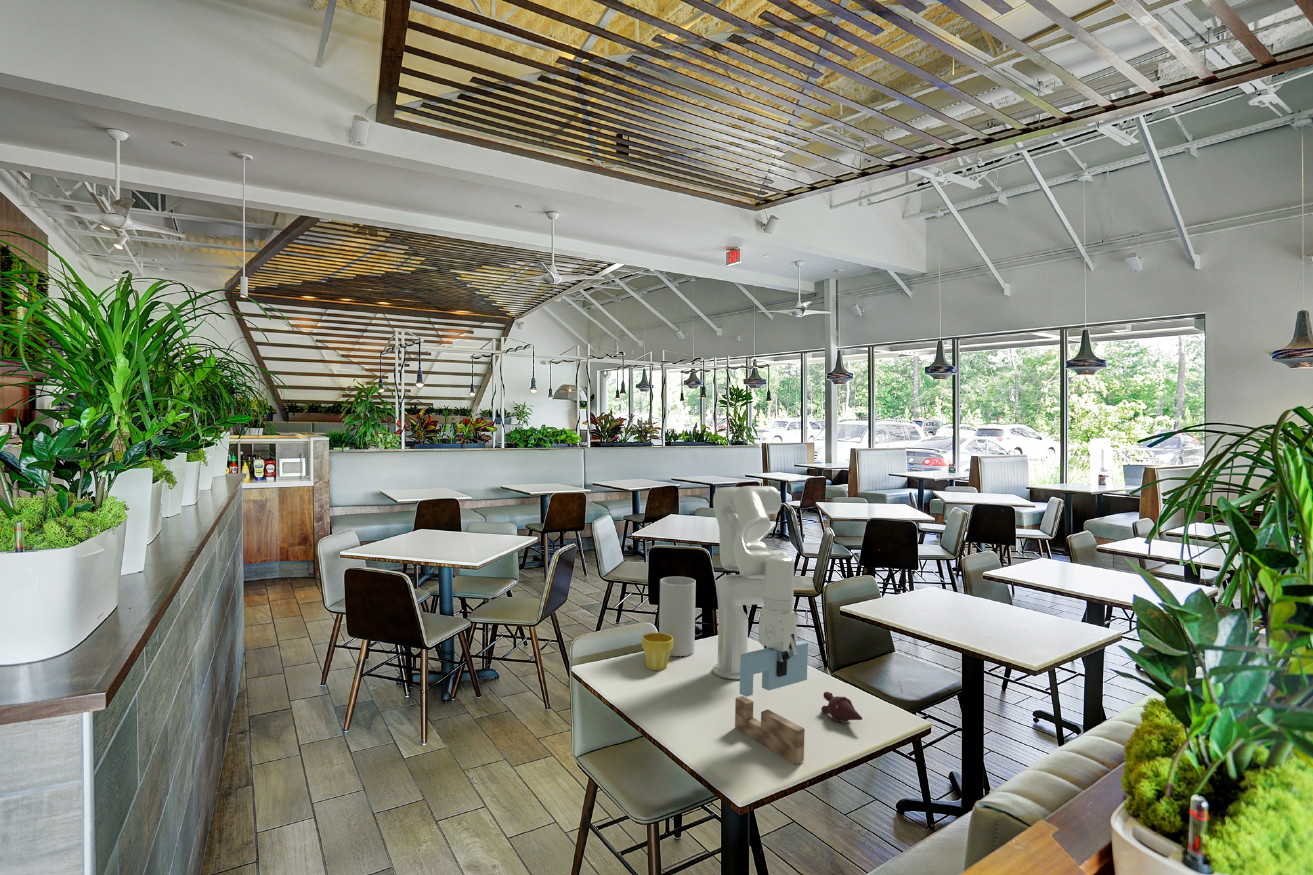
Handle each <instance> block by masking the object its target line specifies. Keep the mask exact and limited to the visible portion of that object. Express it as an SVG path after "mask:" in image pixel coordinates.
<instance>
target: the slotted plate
mask: <svg viewBox="0 0 1313 875" xmlns="http://www.w3.org/2000/svg"><path fill="white" fill-rule="evenodd" d="M796 651H797V656H793V657H791V658H789V660H788V661H787V675H785V676H781V677H777V661H779V659H778V651H777V650H775V649H772V648H766V649H764V648H762V649H758V650H754V651H747V653H744V654H741V659H740V679H739V695H741V696H744V697H746V698H747V697H750V696H753V695H754V675H756V674H760V673H761V688H762V689H764V690H766V691H772V690H775V689H780V688H783V687H787V686H790V685H793V684H798V683H801V682H804V681H807V680H808V659H809V658H808V653H809V642H807V641H804V640H797V644H796ZM784 654H785V653H784V652H783V655H784Z"/></svg>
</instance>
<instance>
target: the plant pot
mask: <svg viewBox="0 0 1313 875" xmlns="http://www.w3.org/2000/svg"><path fill="white" fill-rule="evenodd" d="M641 648H642V649H643V653H644V657H645V658H644V659H645V665H646V667H647V669H649V670H652V671H662V669H663V670H665V669H667V667H668V662H669V658H670V656H669V655H670V651H671V650H672V648H673V637H672V636H671V635H669V634H665V633H659V632H648V633H645V634H643V635H642V637H641Z"/></svg>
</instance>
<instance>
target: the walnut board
mask: <svg viewBox="0 0 1313 875" xmlns="http://www.w3.org/2000/svg"><path fill="white" fill-rule="evenodd" d="M734 707H735V708H734V728H735V729H736V730H737V731H739V732H741V733H743V734H744V735H747V737H750V738H751V739H753V740H755V741H756V742H758V743H760V744H761V745H763V746H764V747H766V748H768V749H770V750H772V751H773V752H775V753H776V754H778V755H780V756H781V755H782V756H781V757H783V758H784V759H786V760H788V759H789V760H788V761H790V760H791V761H793V762H794V763H793V762H792V763H793V764H795V763H796V764H797V763H800V762H802V761H804V762H805V760H804V759H805V728H804V727H802V726H800V725H799V724H797V723H795V722H793V721H791V720H789V719H787V718H785V717H783V716H781V715H780V714H778V713H776V712H774V711H771V710H770V709H765V710H763V711H761V712H760V720H759V719H757V718H755V717H754V701H753V700H751V699H750V698H747V697H745V696H743V695H741V696H737V697H735V706H734ZM791 761H790V762H791ZM802 763H803V762H802ZM796 764H795V765H796ZM800 764H801V763H800ZM797 765H798V764H797Z"/></svg>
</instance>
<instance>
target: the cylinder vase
mask: <svg viewBox="0 0 1313 875" xmlns="http://www.w3.org/2000/svg"><path fill="white" fill-rule="evenodd" d="M696 581H697V580H696V579H694V578H691V577H687V576H666V577H663V578H660V580H659V617H658V621H659V624H658V625H659V626H658V629H659V630H658V633H665V634H669V635H671V636H672V637H673V648H672V650H671V651H670V655H669V657H672V656H680V657H679V658H681V656H684V657H688V656H690V655H692V654H693V653H694V652H695V639H696V638H695V635H696V633H695V632H696V631H695V630H696V629H695V628H696V591H697V590H696V586H697V584H696Z"/></svg>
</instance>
